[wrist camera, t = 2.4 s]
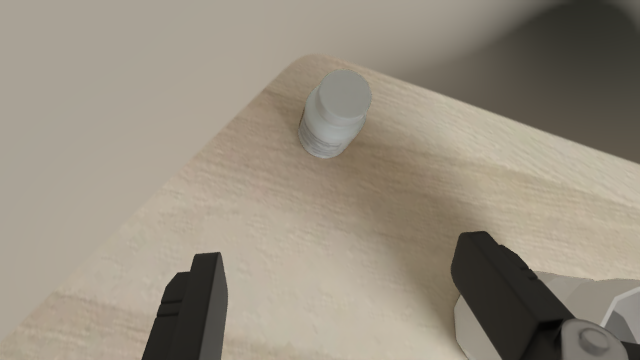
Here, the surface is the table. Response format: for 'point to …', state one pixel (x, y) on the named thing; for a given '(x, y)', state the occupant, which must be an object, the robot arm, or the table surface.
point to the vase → (579, 298)
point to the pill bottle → (334, 113)
